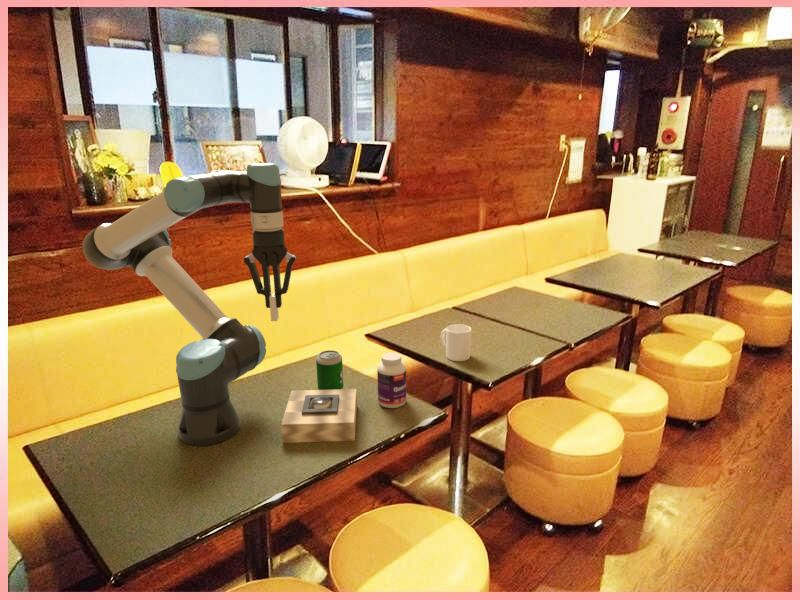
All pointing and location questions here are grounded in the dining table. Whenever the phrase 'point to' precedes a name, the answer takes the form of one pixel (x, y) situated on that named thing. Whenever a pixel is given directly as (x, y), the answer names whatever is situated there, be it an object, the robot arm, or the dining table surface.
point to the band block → (320, 417)
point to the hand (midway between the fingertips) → (274, 319)
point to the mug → (457, 342)
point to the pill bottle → (391, 381)
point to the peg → (320, 403)
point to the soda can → (329, 370)
